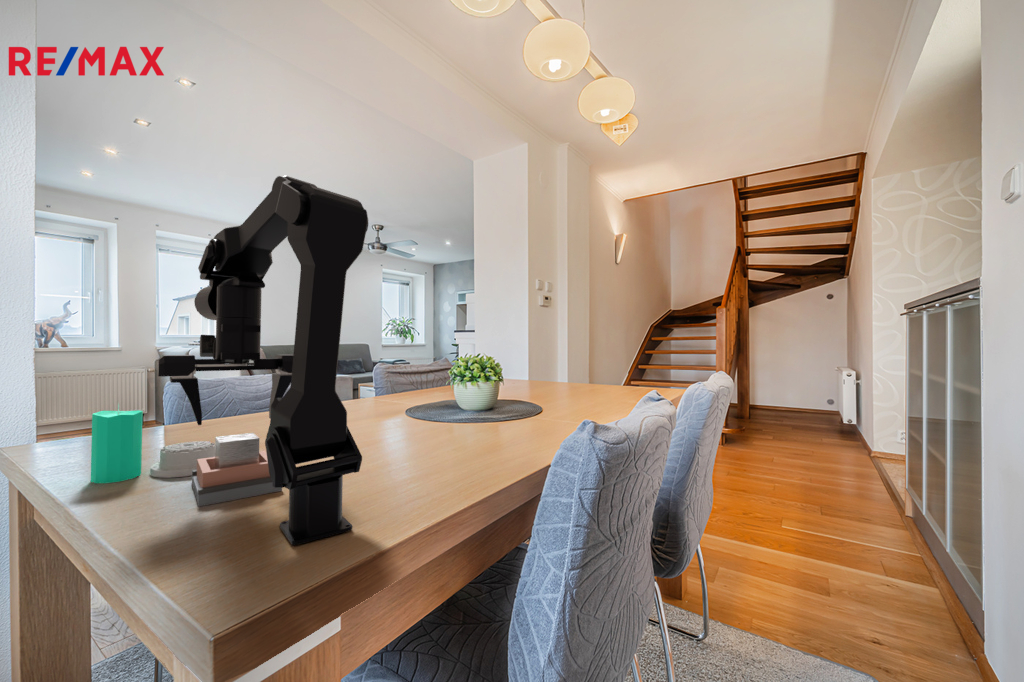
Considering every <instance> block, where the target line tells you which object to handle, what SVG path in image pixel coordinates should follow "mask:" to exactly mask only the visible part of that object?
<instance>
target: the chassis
mask: <svg viewBox="0 0 1024 682" xmlns="http://www.w3.org/2000/svg"><path fill="white" fill-rule="evenodd" d="M191 485H192V489H193V491H194V492H193V493H194V497H195V499H196V503H197V507H203V506H209V505H214V504H219V503H225V502H230V501H235V500H240V499H244V498H245V499H246V498H249V497H255V496H256V497H257V496H261V495H266V494H271V493H277V492H282V491H283V488H282V487H278V488H275V487H273V486H272V481H271V477H270V474H269V468H268V460H267V452H266V450H259V463H256V464H249V465H242V466H235V467H229V468H222V469H215V457H210V458H202V459H197V470H192V475H191Z"/></svg>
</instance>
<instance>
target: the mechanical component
mask: <svg viewBox="0 0 1024 682" xmlns="http://www.w3.org/2000/svg"><path fill="white" fill-rule="evenodd" d="M159 451H160V453H159V460H160V461H159V462H156V463H154V464H152V465H151V466H150V473H149V474H150V476H151V477H154V478H180V477H183V478H184V477H189V476H192V470H197V459H202V458H210V457H215V442H212V443H211V441H208V440H207V441H206V440H203V441H202V440H201V441H200V440H199V441H184V442H179V443H173V444H169V445H166V446H163V447H162V448H160V450H159Z"/></svg>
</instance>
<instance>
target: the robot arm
mask: <svg viewBox="0 0 1024 682" xmlns="http://www.w3.org/2000/svg"><path fill="white" fill-rule="evenodd" d="M368 228H369V217H368V211H367V209H365V208H364V206H363V204H362V202H361V201H359V200H358V199H356V198H352V197H350V196H346V195H342V194H339V193H338V192H334V191H331V190H327V189H324V188H320V187H318V186H316V185H315V184H313V183H311V182H307V181H304V180H300V179H298V178H295V177H292V176H288V175H284V176H280V175H278V176H276V177H275V179H274V181H273V183H272V186H271V190H270V192H269V193H268V194H267V195H266V197H264V199H263V200H262V201H261V202H260V203H259V204H258V206H257V207H256V208H255V209H254V210H253V211H252V212H251V213H250V215H249V216H248V217H247V218H246V219H245V220H244V221H243V222H242V224H240V225H236V226H230V227H225V228H223V229H222V230H221V231H219V232H218V233H216V234H215V235H214V237H213V238H210V240H209V243H208V245H206V246H205V249H204V251H203V253H202V257H201V260H200V262H199V265H198V271H199V279H200V280H204V281H208V282H209V283H208V286H205V287H204V288H202V289H200V290H199V291H198V292H197V293H196V295H195V298H194V303H193V304H194V307H195V310H196V311H197V312H198V313H199V315H201V316H202V317H203V318H204V319H207V320H209V321H210V320H212V321H215V334H201V335H200V337H199V357H200V358H196V355H194V354H163V355H162V356H161V357H159V358H158V359H157V361H158V362H157V363H158V365H157V367H158V368H157V376H158V377H169V382H170V383H171V384H176V383H177V384H178V383H179V384H180V386H181V387H182V389H183V392H184V393H185V395H186V396H187V399H188V402H189V404H190V406H191V407H190V408H191V410H192V412H193V415H194V418H195V420H196V423H197V426H201V425H202V421H203V412H202V411H203V410H202V404H201V403H202V402H201V396H200V387H199V381H198V380H199V379H198V377H196V376H195V374H196V372H219V371H222V372H224V371H228V372H229V371H261V370H262V371H263V370H265V371H267V370H268V371H270V370H271V371H272V370H275V372H274V373H271V389H270V390H271V391H270V397H269V398H270V399H269V408H268V417H269V419H270V420H269V425H268V426H269V427H268V431H267V432H266V438H265V441H264V446H265V452H266V453H267V460H268V468H269V474H270V477H271V481H272V486H273V487H275V488H278V487H282V489H283V488H286V489H287V490H289V491H288V493H289V495H288V499H289V500H288V520H285V521H284V520H283V521H280V523H279V528H280V530H281V532H282V533H283V534H284V536H285V537H286V539H287V540H288V541H289V543H290V544H291V545H293V546H298V545H302V544H305V543H309V542H312V541H316V540H320V539H324V538H327V537H332V536H335V535H339V534H342V533H347V532H350V531H352V530H353V524H352V523H350V521H348V519H346V518H345V517H344V516H343V481H344V479H343V478H344V477H343V476H346V475H350V474H353V473H355V474H356V473H359V472H360V469H361V465H362V463H363V462H362V461H363V455H362V453H361V452H360V449H359V447H358V445H357V443H356V441H355V438H354V437H353V435H352V433H351V431H350V429H349V427H348V412H347V411H348V410H347V409H346V408H345V405H344V404H343V402H342V400H341V399H340V397H339V395H338V393H337V390H336V386H337V374H338V363H339V353H340V342H341V331H342V321H343V320H342V319H343V312H344V311H343V310H344V297H345V290H346V289H345V288H346V280H347V279H346V278H347V271H348V270H349V269H350V267H351V266H352V265H353V264H354V262H355V261H356V260H357V258H359V256H360V255H361V254H362V252H363V249H364V243H365V239H366V236H367V235H366V234H367V233H368V232H367V231H368ZM286 238H287V241H288V243H289V245H290V247H291V249H292V251H293V253H294V255H295V257H296V259H297V260H298V262H299V264H300V274H299V285H298V287H299V288H298V296H297V308H296V309H297V310H296V322H295V332H294V344H293V354H274V358H261V339H262V338H261V331H262V330H261V329H262V328H261V327H262V325H261V324H262V321H261V320H262V289H264V288H265V287H266V284H265V282H264V280H263V279H264V277H265V276H266V274H267V273H268V271H269V270H270V267H271V266H272V265H273V263H274V262H273V256H272V253H273V251H274V250H275V249H276V248H277V247H279V246H280V244H281V243H282V242H283V241H285V240H286ZM250 361H253V362H250ZM288 388H289V389H288ZM327 458H333V459H328V460H327ZM323 459H326V460H323ZM318 460H319V461H318ZM320 460H322V461H320ZM314 461H318V462H314ZM309 462H310V463H309ZM311 462H312V463H311ZM305 463H309V464H305ZM299 464H304V465H300V466H296V465H299Z"/></svg>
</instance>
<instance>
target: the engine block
mask: <svg viewBox="0 0 1024 682" xmlns="http://www.w3.org/2000/svg"><path fill="white" fill-rule="evenodd" d="M214 438H215V442H214V443H215V469H222V468H229V467H235V466H242V465H249V464H256V463H259V451H260V437H259V436H258V435H256V433H254V432H249V433H238V434H229V435H221V436H215V437H214Z"/></svg>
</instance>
